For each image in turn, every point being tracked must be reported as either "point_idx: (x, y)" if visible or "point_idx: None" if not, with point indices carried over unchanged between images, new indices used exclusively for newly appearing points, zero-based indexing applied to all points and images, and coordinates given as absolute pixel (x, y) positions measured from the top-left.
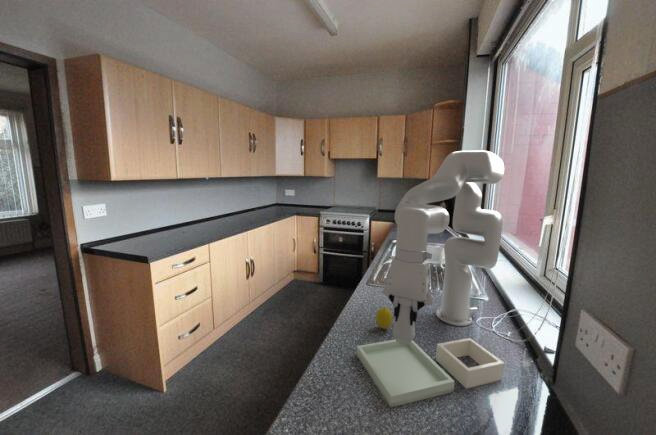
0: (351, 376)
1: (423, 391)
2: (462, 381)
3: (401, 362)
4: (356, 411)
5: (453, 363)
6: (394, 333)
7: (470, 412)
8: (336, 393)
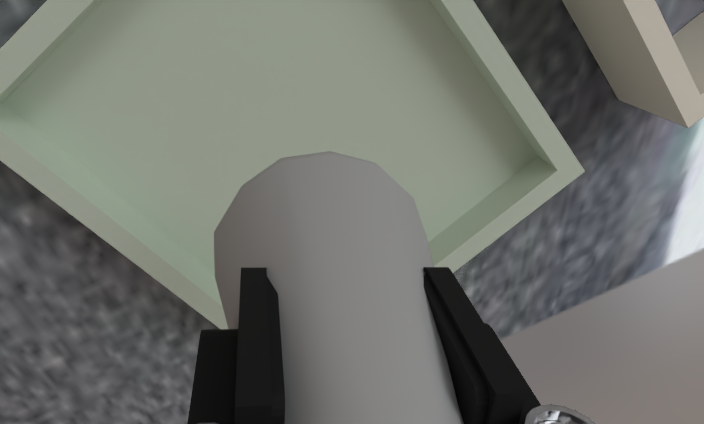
0: (59, 277)
1: None
2: (617, 83)
3: (287, 72)
4: (180, 420)
5: (617, 27)
6: None
7: (595, 233)
8: (58, 391)
